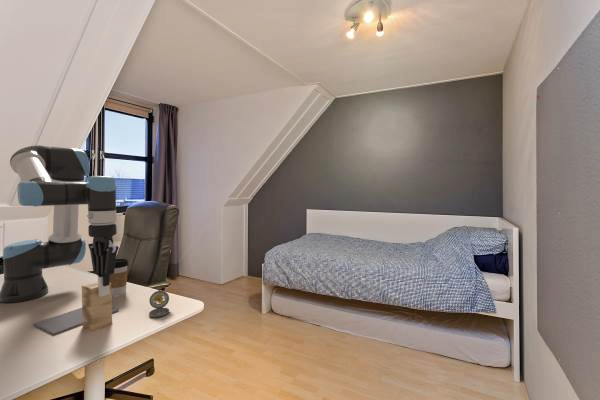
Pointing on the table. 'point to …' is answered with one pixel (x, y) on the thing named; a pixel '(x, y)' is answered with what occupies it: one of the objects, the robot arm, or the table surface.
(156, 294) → the pocket watch
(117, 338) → the table surface
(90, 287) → the oak block
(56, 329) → the rubber mat
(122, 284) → the coffee cup
